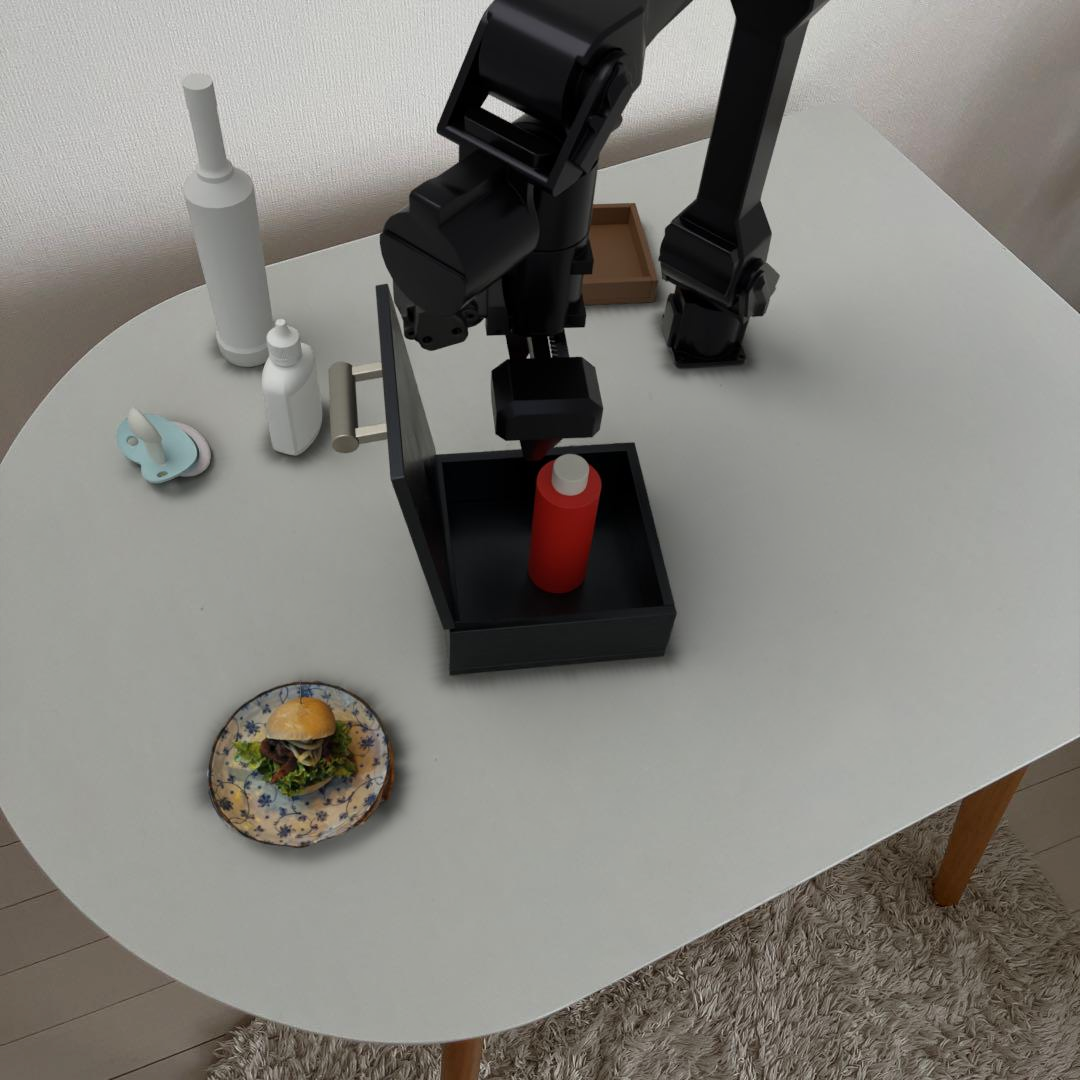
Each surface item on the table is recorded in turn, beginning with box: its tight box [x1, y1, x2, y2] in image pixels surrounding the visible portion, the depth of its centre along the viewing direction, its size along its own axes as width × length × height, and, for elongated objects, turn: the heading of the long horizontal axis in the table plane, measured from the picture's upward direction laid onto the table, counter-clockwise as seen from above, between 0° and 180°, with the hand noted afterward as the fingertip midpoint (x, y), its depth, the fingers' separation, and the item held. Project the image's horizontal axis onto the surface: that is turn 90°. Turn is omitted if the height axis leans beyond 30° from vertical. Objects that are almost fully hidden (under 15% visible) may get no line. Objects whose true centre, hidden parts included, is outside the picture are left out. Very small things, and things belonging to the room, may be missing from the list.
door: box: [327, 283, 455, 631], centre depth 71 cm, size 16×16×4 cm
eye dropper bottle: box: [261, 318, 323, 456], centre depth 86 cm, size 4×6×12 cm
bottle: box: [181, 72, 276, 368], centre depth 86 cm, size 5×5×25 cm
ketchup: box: [528, 454, 601, 593], centre depth 79 cm, size 4×4×12 cm
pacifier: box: [115, 407, 212, 484], centre depth 86 cm, size 7×6×6 cm
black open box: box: [436, 441, 678, 676], centre depth 82 cm, size 16×16×6 cm
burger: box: [206, 679, 395, 849], centre depth 71 cm, size 12×12×8 cm
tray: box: [582, 202, 659, 306], centre depth 104 cm, size 13×11×3 cm
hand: (524, 407), depth 76 cm, fingers open, 9 cm apart
